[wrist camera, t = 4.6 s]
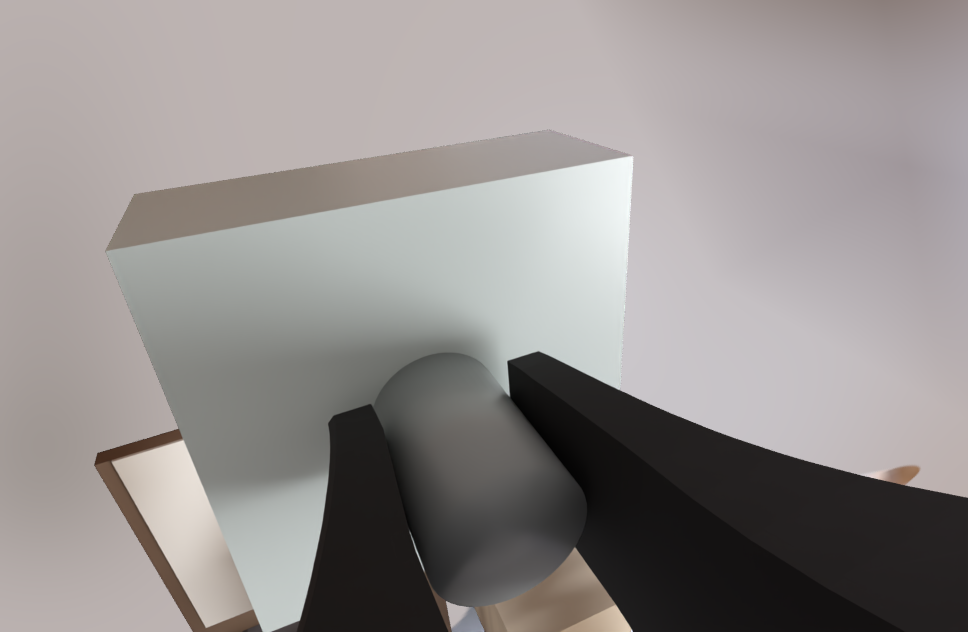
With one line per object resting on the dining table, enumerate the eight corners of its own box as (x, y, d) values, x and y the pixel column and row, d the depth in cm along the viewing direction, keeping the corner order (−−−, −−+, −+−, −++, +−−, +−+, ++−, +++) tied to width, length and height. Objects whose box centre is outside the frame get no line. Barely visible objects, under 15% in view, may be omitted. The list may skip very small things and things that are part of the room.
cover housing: (549, 129, 12) (788, 203, 7) (553, 423, 16) (709, 609, 11) (134, 194, 10) (40, 379, 5) (255, 523, 14) (278, 825, 8)
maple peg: (530, 449, 26) (633, 595, 20) (533, 515, 29) (628, 666, 22) (438, 484, 25) (517, 652, 18) (449, 550, 27) (523, 721, 21)
